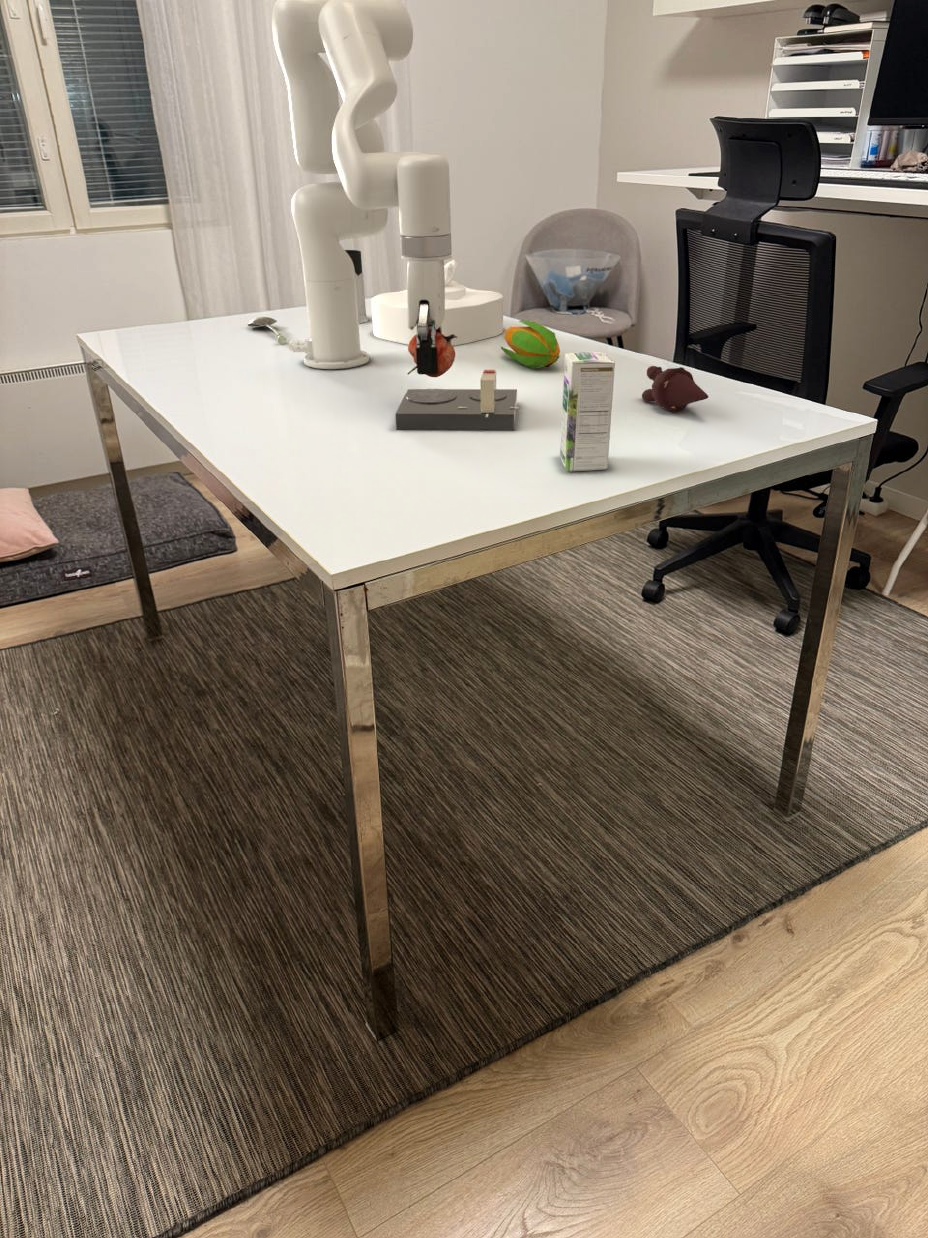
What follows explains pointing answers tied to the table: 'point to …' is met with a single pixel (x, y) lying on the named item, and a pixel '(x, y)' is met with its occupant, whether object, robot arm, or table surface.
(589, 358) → the syrup box
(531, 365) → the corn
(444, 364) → the pomegranate
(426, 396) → the hotplates
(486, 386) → the hob knob
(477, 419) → the hob
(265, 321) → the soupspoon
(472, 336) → the white cake
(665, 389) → the icecream
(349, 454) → the table surface
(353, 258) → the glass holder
